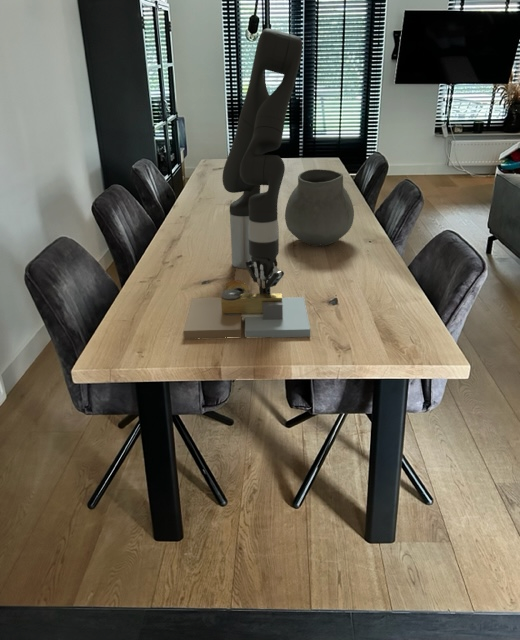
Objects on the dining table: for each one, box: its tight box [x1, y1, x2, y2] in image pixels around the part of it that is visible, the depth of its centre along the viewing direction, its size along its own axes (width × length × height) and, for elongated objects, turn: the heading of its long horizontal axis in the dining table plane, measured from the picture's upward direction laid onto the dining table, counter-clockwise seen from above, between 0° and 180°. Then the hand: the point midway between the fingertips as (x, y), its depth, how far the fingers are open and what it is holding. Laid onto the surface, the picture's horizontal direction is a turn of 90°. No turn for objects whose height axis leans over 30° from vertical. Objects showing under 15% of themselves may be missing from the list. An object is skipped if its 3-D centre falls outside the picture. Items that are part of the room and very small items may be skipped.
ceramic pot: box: [284, 168, 355, 247], centre depth 201 cm, size 24×24×25 cm
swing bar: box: [220, 289, 283, 313], centre depth 147 cm, size 16×5×5 cm, turn 90°
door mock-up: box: [183, 296, 311, 340], centre depth 148 cm, size 20×31×6 cm, turn 91°
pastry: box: [224, 279, 250, 294], centre depth 166 cm, size 9×7×4 cm
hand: (264, 299), depth 150 cm, fingers closed
